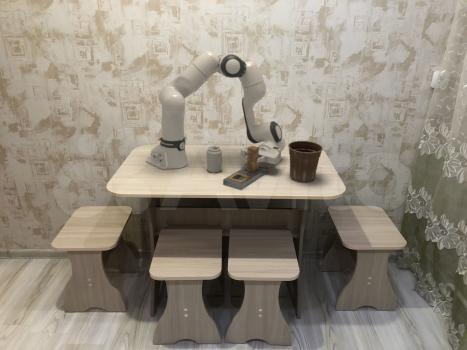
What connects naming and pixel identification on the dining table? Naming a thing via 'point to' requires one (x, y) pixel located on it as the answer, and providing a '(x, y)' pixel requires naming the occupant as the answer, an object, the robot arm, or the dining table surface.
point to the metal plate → (244, 177)
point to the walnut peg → (252, 158)
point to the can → (214, 159)
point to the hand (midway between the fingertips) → (251, 159)
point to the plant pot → (304, 160)
